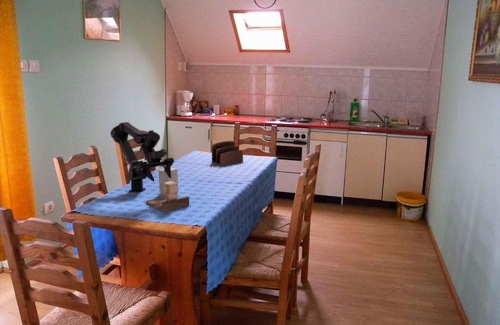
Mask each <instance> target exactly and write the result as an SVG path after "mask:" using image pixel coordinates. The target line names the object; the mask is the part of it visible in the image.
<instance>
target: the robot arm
mask: <svg viewBox="0 0 500 325" xmlns="http://www.w3.org/2000/svg"><path fill="white" fill-rule="evenodd" d="M110 136H111V138H112V139H113V141H114V142H115V143H117V144H118V145H119V147H120V148H121V150H122V153H123V155H124V157H125V158H126V159H125V160H127V162H128V164H129V167H128V173H127V174H126V178H127V181H130V187H131V189H129V190H128V192H132V193H141V192H143V191H145V190H146V187H144V180H146V179H147V178H148V179H149V180H150V181H151V182H153V183H154V182H155V178H154V176H153V174H152V172H151V169H152V168H156V167H161V166H162V169H164V171H165V172H166V174H167V175H168V177H169V178H171V167H172V166H173V165H174V163H175V159H174V158H173V157H166V158H164V157H165V156H167V155H168V151H167V150H166V148H161V149H159V150H156V149H155V147H156V146H157V145H158V143H159V141H160V140H161V136H160V134H158V133H157V132H155V131H154V130H153V129H152V130H148V131H146V130H143V129H138V128H137V127H136V126H135V125H132V124H131V123H130V122H128V121H127V122H125V121H124V122H123V121H122V122H120V123H118V125H116V126H114V127H113V128H112V129H111V131H110ZM129 136H130V137H132V138H133V139H132V140H133V141H134V143H136V144H137V145H140V148H139V152H142V153H143V155H144V161H143V160H138V158H137V155H136V153H135V151H134V150H133V148H132V146H131V144H130V141H129V140H128V139H129ZM163 158H164V160H163ZM162 160H163V161H162ZM150 168H151V169H150Z"/></svg>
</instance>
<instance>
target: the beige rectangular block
mask: <svg viewBox="0 0 500 325" xmlns="http://www.w3.org/2000/svg"><path fill="white" fill-rule="evenodd" d="M164 189H165V195H164V197H165V201H169V200H173V199H177V198H179V197H178V196H179V194H178V193H179V185H178V186H177V183H175V182H172V181H170V182H165V183H164Z"/></svg>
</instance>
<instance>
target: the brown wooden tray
mask: <svg viewBox="0 0 500 325" xmlns="http://www.w3.org/2000/svg"><path fill="white" fill-rule="evenodd" d="M145 202H146V204H148V205H149V206H150V207H153V208H155V209H157V210H160V211H161V212H164V213H165V212H168V211H172V210H176V209H181V208H183V207H184V208H185V207H188V206H190V196H188V195H187V196H186V195H185V196H181V197H178V198H177V199H173V200H169V201H165V196H162V197H161V196H160V197H157V198H152V199H149V200H146V201H145Z"/></svg>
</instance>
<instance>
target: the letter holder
mask: <svg viewBox="0 0 500 325" xmlns="http://www.w3.org/2000/svg"><path fill="white" fill-rule="evenodd" d="M243 162H244V151H243V150H240V147H239V146H238V145H236V142H235V140H234V141H233V140H226V141H220V142H215V143H213V144H212V145H211V164H213V165H216V166H220V167H222V166H223V167H224V166H227V165H233V164H237V163H243Z"/></svg>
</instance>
